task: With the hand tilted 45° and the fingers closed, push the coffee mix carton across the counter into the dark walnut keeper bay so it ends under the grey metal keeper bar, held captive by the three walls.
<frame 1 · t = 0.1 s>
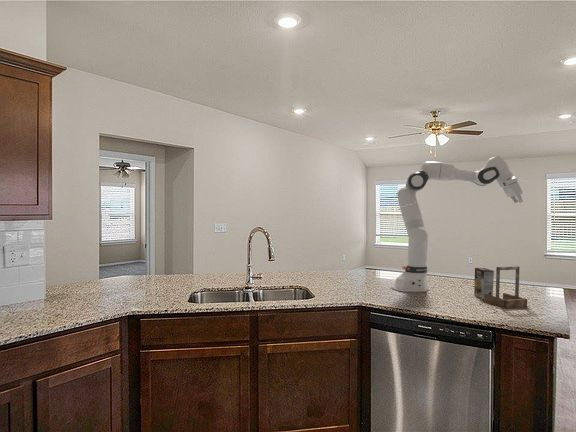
hand: (518, 202, 237), 54 cm above the worktop, tool tilted 30°, fingers open, 8 cm apart
coffee box: (483, 297, 231), on the worktop
keeper: (504, 303, 216), on the worktop
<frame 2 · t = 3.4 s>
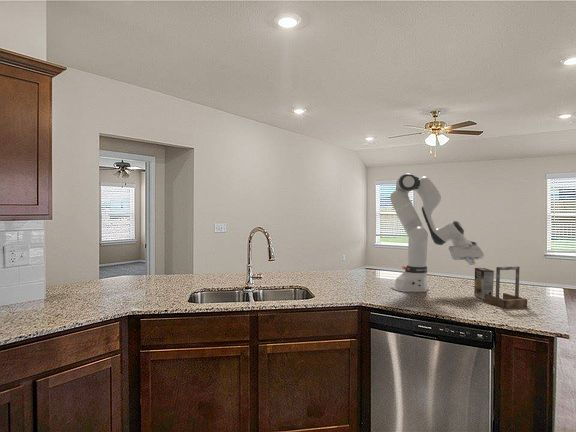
hand: (472, 264, 240), 17 cm above the worktop, tool tilted 45°, fingers closed
nothing on the worktop moved.
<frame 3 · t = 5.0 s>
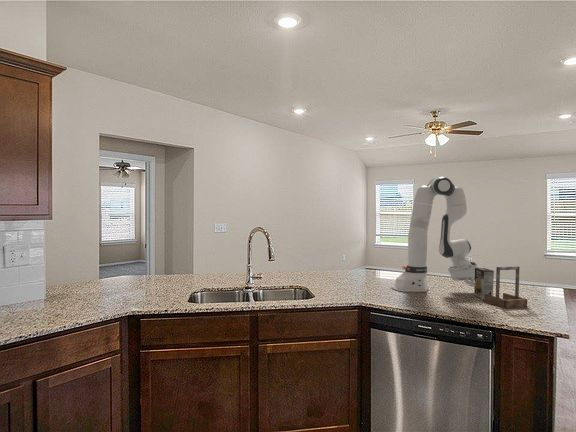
hand: (472, 285, 240), 5 cm above the worktop, tool tilted 45°, fingers closed
nothing on the worktop moved.
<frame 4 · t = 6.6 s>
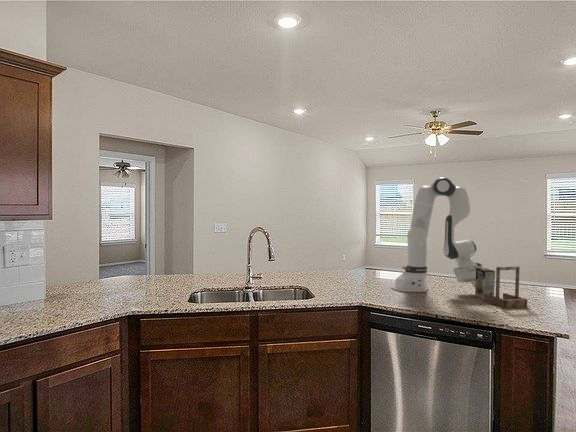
hand: (478, 287, 236), 5 cm above the worktop, tool tilted 45°, fingers closed
coffee box: (484, 297, 231), on the worktop, touching gripper
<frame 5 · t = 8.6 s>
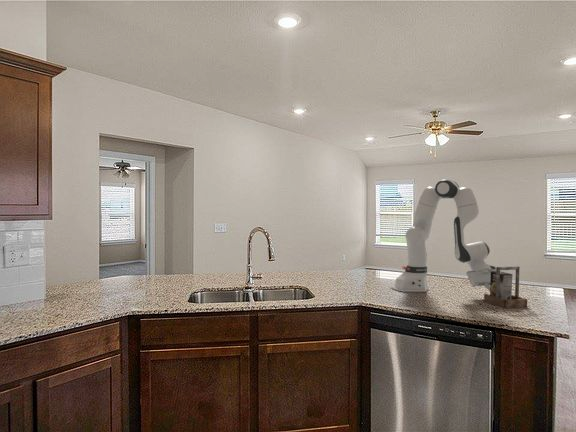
hand: (492, 291, 224), 5 cm above the worktop, tool tilted 45°, fingers closed, pressing on coffee box
coffee box: (500, 302, 220), on the worktop, touching gripper
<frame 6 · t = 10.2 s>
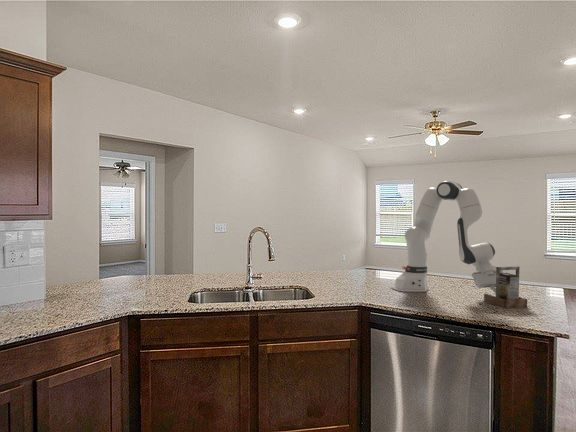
hand: (498, 293, 220), 5 cm above the worktop, tool tilted 45°, fingers closed
coffee box: (506, 304, 215), on the worktop, touching gripper
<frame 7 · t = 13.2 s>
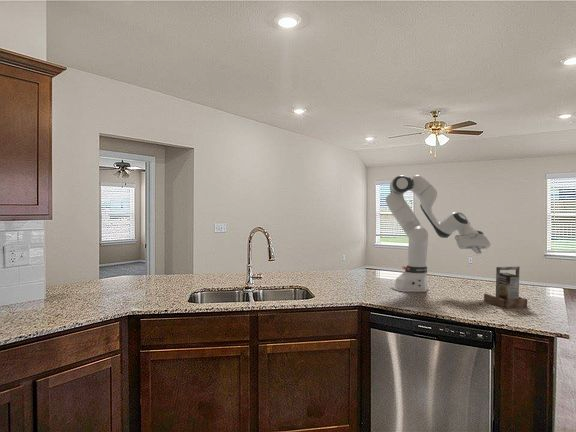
hand: (479, 253, 239), 24 cm above the worktop, tool tilted 45°, fingers closed
coffee box: (506, 304, 215), on the worktop
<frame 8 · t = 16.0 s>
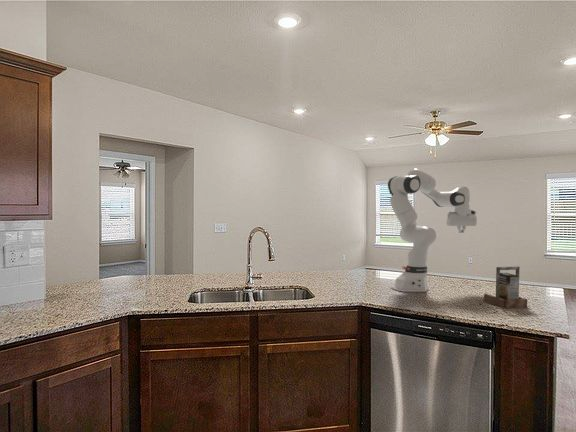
hand: (461, 232, 265), 34 cm above the worktop, tool pointing down, fingers closed
nothing on the worktop moved.
at the end: coffee box 1.2 cm off-centre on the keeper, point 0.0 cm above the keeper's base; coffee box tilted 0°; coffee box moved 16.7 cm from its start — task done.
